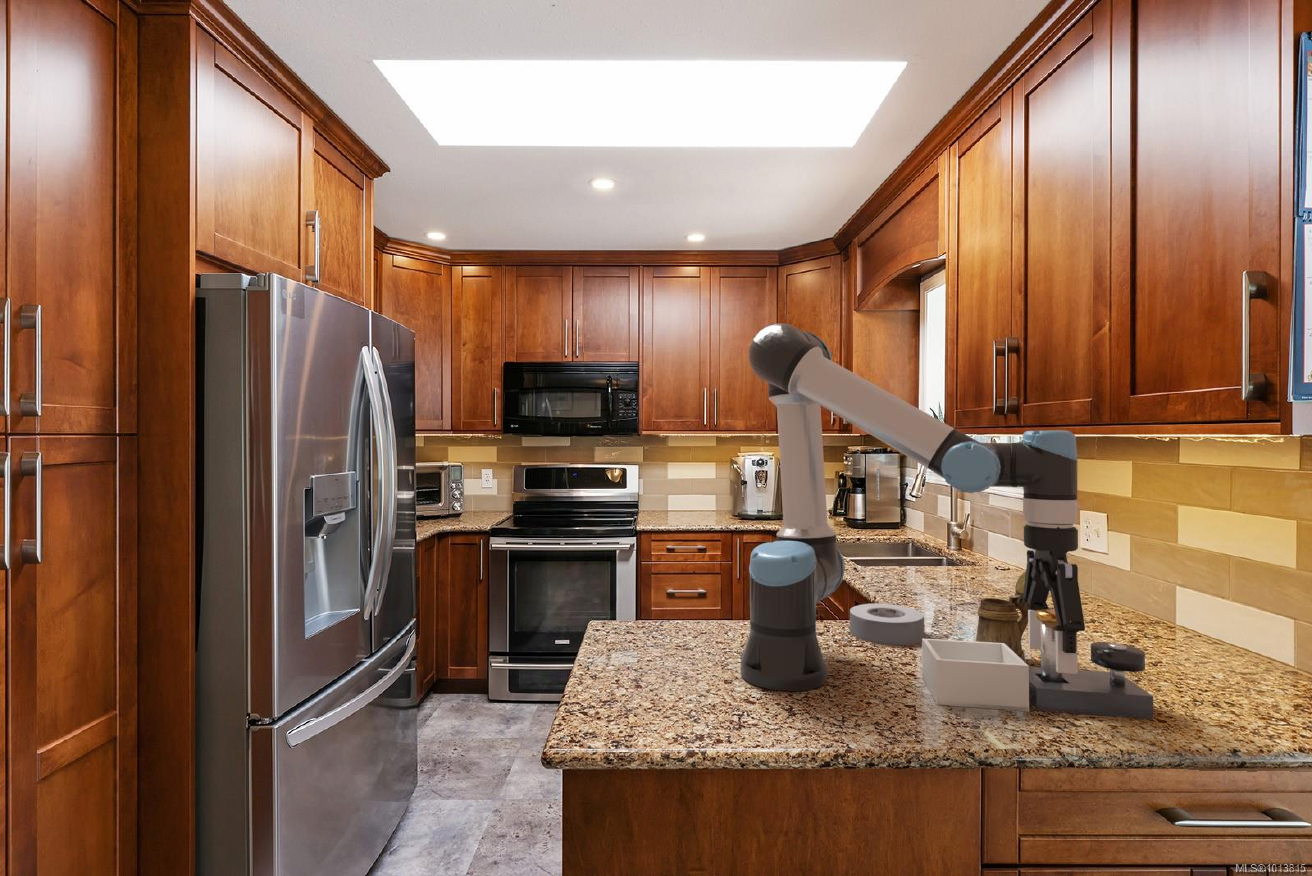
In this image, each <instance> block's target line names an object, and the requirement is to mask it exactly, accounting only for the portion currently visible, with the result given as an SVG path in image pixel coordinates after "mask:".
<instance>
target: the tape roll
mask: <svg viewBox="0 0 1312 876" xmlns="http://www.w3.org/2000/svg"><path fill="white" fill-rule="evenodd" d="M849 632H850V634H851V635H852V637H855V638H856V639H859V640H863V641H865V642H869V643H874V644H880V645H887V646H888V645H889V646H909V645H910V646H911V645H916V644H920V643H922V638H923V639H925V615H924V614H923V613H922V611H919V610H918V609H915V608H911V607H908V606H903V605H898V604H893V603H892V604H889V603H863V604H858V605H855V606H853V607H851V608H850V609H849Z"/></svg>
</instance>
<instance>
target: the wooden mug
mask: <svg viewBox="0 0 1312 876" xmlns="http://www.w3.org/2000/svg"><path fill="white" fill-rule="evenodd" d="M1025 575H1026V570H1025V571H1023V572H1022V573H1021V574H1020V575H1019V577H1018V579H1017V581H1016V582H1015V583H1016V584H1015V594H1014V595H1013V596H1009V598H1008V600H1006V599H1002V598H997V597H995V598H994V597H983V598H981V599H980V602H979V603H980V605H979V606H978V609H977V616H978V620H977V621H978V624H977V629H976V635H975V637H976V638H975V642H992V643H1005V644H1006V645H1007V646H1008V647H1009V648H1010V649H1011V650H1012V651H1013V652H1014V653H1015V654H1016V655H1017V656H1019V657H1020V658H1021V659H1022V660H1023V661H1024V662H1025V663H1026V664H1027V662H1026V658H1025V656H1026V655H1025V651H1024V650H1023V648H1022V637H1023V634H1024V632H1025V630H1026V628H1027V627H1028V610H1030V609H1028V608H1027V606H1026V603H1027V602H1023V591H1024V583H1025ZM1017 610H1019V611H1020V615H1021V616H1020V615H1019V612H1018V611H1017Z"/></svg>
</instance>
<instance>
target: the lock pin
mask: <svg viewBox="0 0 1312 876" xmlns="http://www.w3.org/2000/svg"><path fill="white" fill-rule="evenodd" d="M1037 619H1038V620H1040V622H1041V649H1040V668H1041V680H1042V681H1043V682H1054V683H1063V673H1058V672H1057V671H1056V631H1055V630H1054V627H1055V626H1058V622H1057V618H1056V614H1055V610H1054V609H1049V610H1047V609H1041V610H1037Z"/></svg>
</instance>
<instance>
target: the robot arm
mask: <svg viewBox="0 0 1312 876" xmlns="http://www.w3.org/2000/svg"><path fill="white" fill-rule="evenodd" d="M748 360H749V364H750V368H751V370H752V371H753V373H754V374H755V375H756V376H757V377H758V378H759V379H760V380H762V381H763V382H765V383H767V392H768V393H767V395H768V400H769V401H770V402H771V403H772V404H773V405H774V406H775V407H776V414H777V415H776V416H777V418H776V419H777V431H778V450H779V465H780V467H779V468H780V487H781V503H782V517H783V518H782V520H783V525H782V527H781V528H780V529H779V530H778V531H777V532H776V540H775V541H773V542H768V541H767V542H764V543H761V544H759V545H758V546H756V547H754V548H753V549H752V551H751V552H750V559H749V561H750V562H749V566H748V572H749V616H750V617H749V622H750V624H749V627H750V629H749V634H748V636H747V641H746V644H745V647H744V650H743V653H742V656H741V659H740V676H741V677H742V679H743V680H745V681H746V682H748V683H749V684H752V685H754V686H756V687H760V688H763V689H768V690H772V691H773V690H774V691H781V692H801V691H809V690H813V689H816V688H819V687H821V686H822V685H824V684H825V683H826V681H827V665H826V662H825V659H824V655H823V653H822V650H821V646H820V644H819V641H818V637H817V631H816V630H817V629H816V628H817V625H816V622H817V615H816V612H817V611H816V609H817V606H816V605H817V603H819V602H820V601H822V600H825V599H827V598H828V597H830V596H832V595H833V593H835V592H836V590H837V589H838V588H839V587H840V584H842V581H843V580H844V577H845V571H846V569H845V568H846V567H845V566H846V565H845V560H844V556H843V554H842V552H841V551H840V550H839V548H838V545H837V532H836V531H835V530H834V529H833V528H832V527H831V526H830V525H829V524H828V510H827V495H826V493H827V492H826V477H825V475H826V474H825V459H824V446H823V444H824V443H823V427H822V412H821V411H822V410H821V406H822V407H823V408H825V409H826V410H828V411H829V412H831V413H833V414H834V415H837V416H838V417H839V418H841V419H843V420H845V421H846V422H848V423H850V424H852V425H853V426H855V427H857V428H858V429H860V430H862V431H864V432H865V433H867V434H868V435H871V436H872V437H874V438H876V439H877V440H879V441H881V443H884V444H886V445H888V446H889V447H891V448H893V449H895V450H896V451H898V452H899V453H901V454H902V455H904V456H906V457H908V458H909V459H912V460H914V461H915V462H917V463H918V464H920V465H921V466H923V467H925V468H927V469H928V470H930V471H931V472H932V473H935V474H936V475H938V476H939V477H941V478H943V479H944V480H945V481H944V482H946V484H947V485H950V486H951V487H953V488H954V489H956V490H958V491H960V492H963V493H969V494H970V493H971V494H974V493H979V492H984V491H985V490H988V489H990V487H992V488H993V487H995V488H1000V487H1001V488H1022V490H1023V495H1022V496H1023V497H1022V520H1023V521H1024V522H1026V523H1027V524H1024V526H1023V544H1024V546H1025V547H1026V548H1028V549H1029V550H1026V568H1025V571H1026V575H1025V583H1024V591H1023V602H1027V603H1026V606H1027V608H1028V609H1030V610H1028V624H1027V628H1028V630H1027V631H1028V632H1027V633H1028V634H1027V635H1028V636H1027V637H1028V642H1027V643H1028V649H1030V650H1041V622H1040V620H1038V619H1037V610H1041V609H1047V610H1050V608H1049V606H1048V603H1047V600H1048V597H1049V594H1050V596H1051V600H1052V604H1053V608H1054V609H1053V610H1055V614H1056V618H1057V622H1058V626H1055V627H1054V630H1055V631H1056V671H1057V672H1058V673H1072V674H1078V670H1079V669H1078V667H1079V666H1078V632H1085V630H1086V625H1085V619H1084V612H1083V611H1084V610H1083V605H1082V601H1081V592H1080V585H1079V580H1078V579H1079V576H1078V575H1079V573H1078V572H1079V568H1078V567H1079V566H1078V565H1077V563H1069V562H1068V556H1067V553H1069V552H1075V551H1077V550H1078V548H1079V529H1077V527H1076V526H1074V525H1077V523H1078V511H1080V510H1081V505H1079V504H1078V460H1079V459H1078V449H1077V437H1076V435H1075V434H1074V433H1073V432H1071V431H1069V430H1061V429H1059V430H1054V429H1053V430H1026V431H1024V432H1023V434H1022V439H1021V442H1020V441H1017V442H1011V443H1010V442H980V441H978V440H977V439H974V438H972V437H971V436H969V435H967V434H966V433H963V432H962V431H960V430H958V429H955V428H954V427H952V426H950V425H948V424H947V423H945V422H943V421H941V420H939V419H937V418H936V417H934V416H932V415H931V414H929V413H927V412H925V411H923V410H922V409H920V408H918V407H916V406H914V405H912V404H910V403H908V402H907V401H905V400H903V399H901V398H900V397H898V396H896V395H894V394H893V393H891V392H890V391H889V392H888V391H887V390H885V389H883V388H881V387H880V386H878V385H876V384H874V383H873V382H870V381H869V380H866V379H865V378H863V377H861V376H860V375H859V374H856V373H855V372H852V371H851V370H849V369H847V368H845V367H843V366H842V365H840V364H838V363H836V362H835V361H833V358H832V353H831V351H830V349H829V347H828V345H827V344H826V343H825V342H824V341H823V340H822V339H821V338H820V337H819V336H817V335H815V334H813V333H811V332H809V331H806V330H802V329H800V328H798V327H796V326H794V325H792V324H788V323H774V324H770V325H767V326H766V327H764V328H762V329H761V330H759V331H758V332H757V334H755V336H754V338H753V339H752V340H751V343H750V345H749V349H748Z"/></svg>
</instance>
